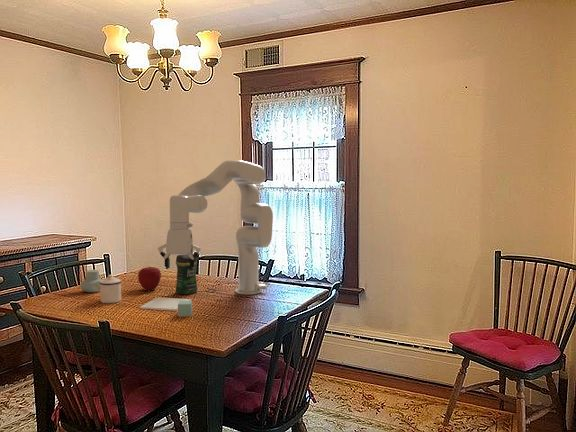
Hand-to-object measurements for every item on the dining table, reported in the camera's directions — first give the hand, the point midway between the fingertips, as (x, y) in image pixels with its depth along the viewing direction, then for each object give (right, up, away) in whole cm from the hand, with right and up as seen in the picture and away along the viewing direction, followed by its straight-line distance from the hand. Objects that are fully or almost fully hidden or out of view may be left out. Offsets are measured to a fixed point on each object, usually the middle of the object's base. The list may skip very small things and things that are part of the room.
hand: (179, 268), depth 201 cm
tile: (-9, -17, +14) cm, 24 cm away
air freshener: (-50, -15, +38) cm, 65 cm away
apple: (-23, -15, +42) cm, 50 cm away
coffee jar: (-4, -15, +36) cm, 39 cm away
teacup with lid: (-36, -17, +21) cm, 45 cm away
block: (+2, -19, 0) cm, 19 cm away
